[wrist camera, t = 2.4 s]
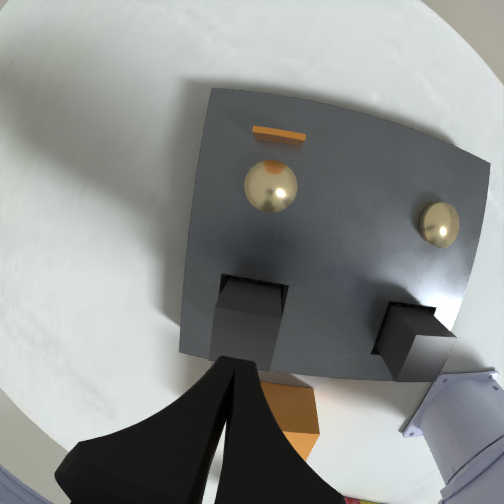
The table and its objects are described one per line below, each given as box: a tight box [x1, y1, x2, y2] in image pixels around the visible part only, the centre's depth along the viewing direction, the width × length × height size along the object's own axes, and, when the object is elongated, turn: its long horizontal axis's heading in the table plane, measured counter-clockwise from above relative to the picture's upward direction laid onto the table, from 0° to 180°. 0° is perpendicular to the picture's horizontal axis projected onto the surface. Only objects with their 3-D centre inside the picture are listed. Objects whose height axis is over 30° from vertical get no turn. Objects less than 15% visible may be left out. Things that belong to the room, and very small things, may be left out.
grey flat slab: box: [179, 88, 491, 381], centre depth 15 cm, size 18×16×4 cm
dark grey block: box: [209, 279, 282, 371], centre depth 15 cm, size 3×3×4 cm
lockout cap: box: [260, 382, 320, 461], centre depth 18 cm, size 6×6×5 cm
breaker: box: [376, 305, 457, 382], centre depth 14 cm, size 3×3×4 cm
